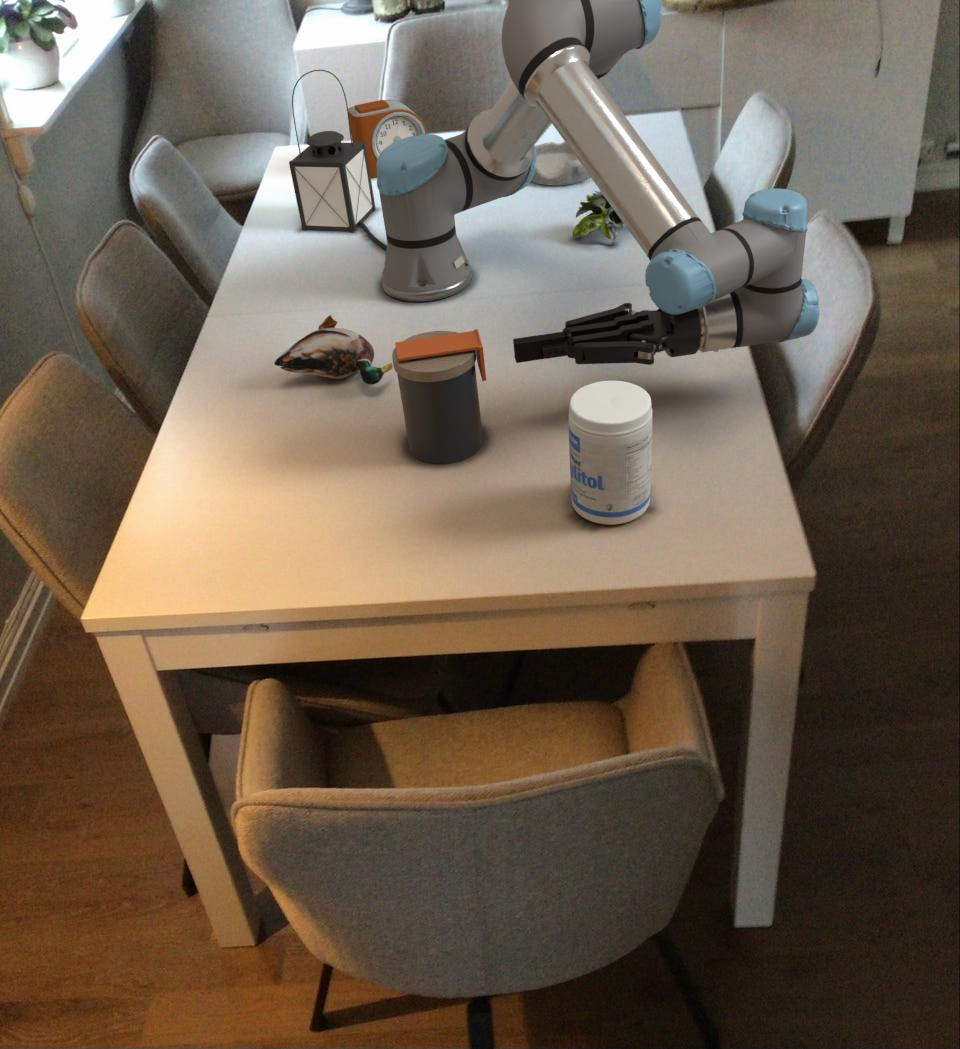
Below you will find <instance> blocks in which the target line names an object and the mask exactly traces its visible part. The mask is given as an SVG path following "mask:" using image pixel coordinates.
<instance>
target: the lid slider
mask: <svg viewBox="0 0 960 1049" xmlns="http://www.w3.org/2000/svg"><path fill="white" fill-rule="evenodd" d="M394 345H395V347H396V352H397V359H398V361H404V360H411V359H418V358H424V357H431V356H438V355H445V354H451V353H458V352H465V351H471V350H476V363H477V367H478V370H479V373H480V374H479V375H480V377H481V381H482V382H485V381H487V375H486V365H485V364H486V363H485V354H484V346H483V343H482V340H481V336H480V333H479V330H478V329H477V328H476V329H473V330H469V331H462V332H457V333H456V334H449V335H442V336H435V337H429V338H422V339H415V340H409V341H404V340H402V341H395V342H394Z"/></svg>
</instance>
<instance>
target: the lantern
mask: <svg viewBox="0 0 960 1049" xmlns="http://www.w3.org/2000/svg"><path fill="white" fill-rule="evenodd" d="M313 72H326V73H329V74H330V75H332V76H333V77H334V78H335V79H336V80H337V82H338V83H339V85H340V87H341V89H342V92H343V96H344V101H345V105H346V112H347V120H348V130H349V137H350V138H349V139H350V142H343V141H344V139H345V136H344V135H343V134H342V133H340V132H338V131H335V130H324V131H319V132H316V133H313V134H311V136H309V137H308V138H307V140H306V145H308V146H307V147H306V148H305V149H304V150H302V151H301V148H300V141H299V137H298V136H299V135H298V131H297V124H296V118H295V112H294V111H295V110H294V94H295V90H296V87H297V85H298V83H299V82H300V80H301V79H302V78H303V77H305V76H306V75H308V74H311V73H313ZM348 109H349V106H348V100H347V97H346V92H345V89H344V87H343V85H342V83H341V80H340V79H339V78H338V77H337V76H336V75H335V74H334V73H333V72H331V71H329V70H325V69H314V70H313V69H312V70H310V71H307V72H305V73H304V74H302V75H301V76H300V77H299V78H298V79H297V80H296V82H295V84H294V86H293V90H292V95H291V110H292V118H293V124H294V130H295V137H296V141H297V146H298V155H297V156H295V157H294V158H293V159H291V160H289V161H288V166H289V170H290V175H291V180H292V184H293V185H292V186H293V189H294V194H295V199H296V205H297V208H298V214H299V219H300V226H301V229H302V231H322V232H323V231H325V232H328V231H329V232H350V233H355V232H356V231H357V229H358V228H359V227H361V226H360V224H359V221H360V220H361V221H362V222H363V223H364V222H365V221H366V219H368V218H369V217H370V216H371V214H372V213H373V212H375V211H376V210H377V209H376V203H375V197H374V196H375V195H374V190H373V184H372V183H373V182H372V178H371V176H370V170H369V164H368V157H367V151H366V144H365V143H364V142H361V143H353V142H352V136H351V130H350V121H349V113H348Z"/></svg>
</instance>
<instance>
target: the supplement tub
mask: <svg viewBox="0 0 960 1049" xmlns="http://www.w3.org/2000/svg"><path fill="white" fill-rule="evenodd" d="M567 418H568V450H569V477H570V478H569V479H570V500H571V504H572V507H573V510H575V511H576V513H577V514H578V515H579V516H580V517H582V518H584V519H585V520H587V521H589V522H592V523H595V524H601V525H612V526H615V525H622V524H626V523H629V522H631V521H635V520H636V519H638V518H639V517H641V516H642V515H643V514H644V513H645V512H646V511H647V510H648V508H649V505H650V504H651V488H652V487H651V484H652V453H653V452H652V450H653V448H652V447H653V444H652V443H653V408H652V398H651V396H650V394H649V393H648V392H647V391H646V389H644V388H642V387H641V386H639V385H637V384H634V383H632V382H627V381H622V380H600V381H596V382H592V383H589V384H587V385H584V386H582V387H580V388H579V389H577V390H576V391H575V392H574V393H573V394H572V395H571V397H570V400H569V410H568V417H567Z"/></svg>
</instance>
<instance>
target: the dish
mask: <svg viewBox="0 0 960 1049" xmlns="http://www.w3.org/2000/svg"><path fill="white" fill-rule="evenodd" d="M535 149H536V155H537V161H536V162H534V165H535V166H536V170H535V173H534V176H533V178H532V180H531V181H530V182H532V183H535V184H538V185H545V186H564V185H565V186H566V185H573V184H577V183H579V182H582V181H584V180H586V179H587V178H589V177H590V176H589V174H588V173H587V171H586V170H585V169H584V167H583V166H582V165H581V163H580V162H579V160H578V159H577V158H576V156H575V155H574V153H573V152H572V151H571V149H570V148H569V146H568V145H567V144H566V142H565V141H563V142H561V143H556V142H554V141H549V142H545V143H541V144H535Z"/></svg>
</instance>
